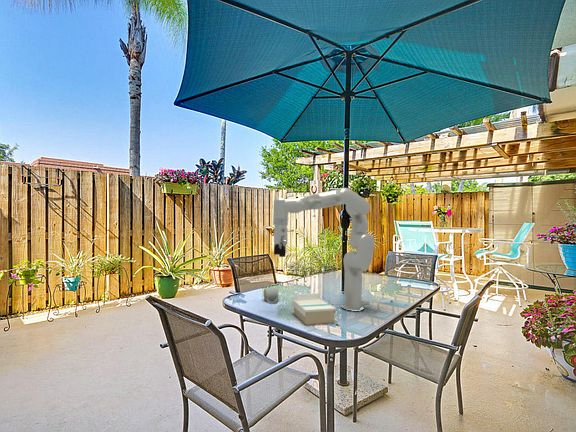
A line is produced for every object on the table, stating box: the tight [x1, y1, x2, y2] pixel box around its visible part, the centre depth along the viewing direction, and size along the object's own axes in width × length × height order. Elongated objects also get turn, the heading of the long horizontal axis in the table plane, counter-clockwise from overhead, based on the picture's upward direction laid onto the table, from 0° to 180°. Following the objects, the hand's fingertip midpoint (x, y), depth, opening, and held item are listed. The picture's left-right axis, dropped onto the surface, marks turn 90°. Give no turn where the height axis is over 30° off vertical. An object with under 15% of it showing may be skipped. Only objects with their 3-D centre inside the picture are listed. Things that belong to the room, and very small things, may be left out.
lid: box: [292, 292, 337, 317], centre depth 150 cm, size 15×19×6 cm
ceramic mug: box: [263, 287, 280, 305], centre depth 179 cm, size 11×8×8 cm
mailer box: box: [293, 307, 335, 326], centre depth 150 cm, size 14×18×6 cm
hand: (279, 255), depth 157 cm, fingers open, 9 cm apart
